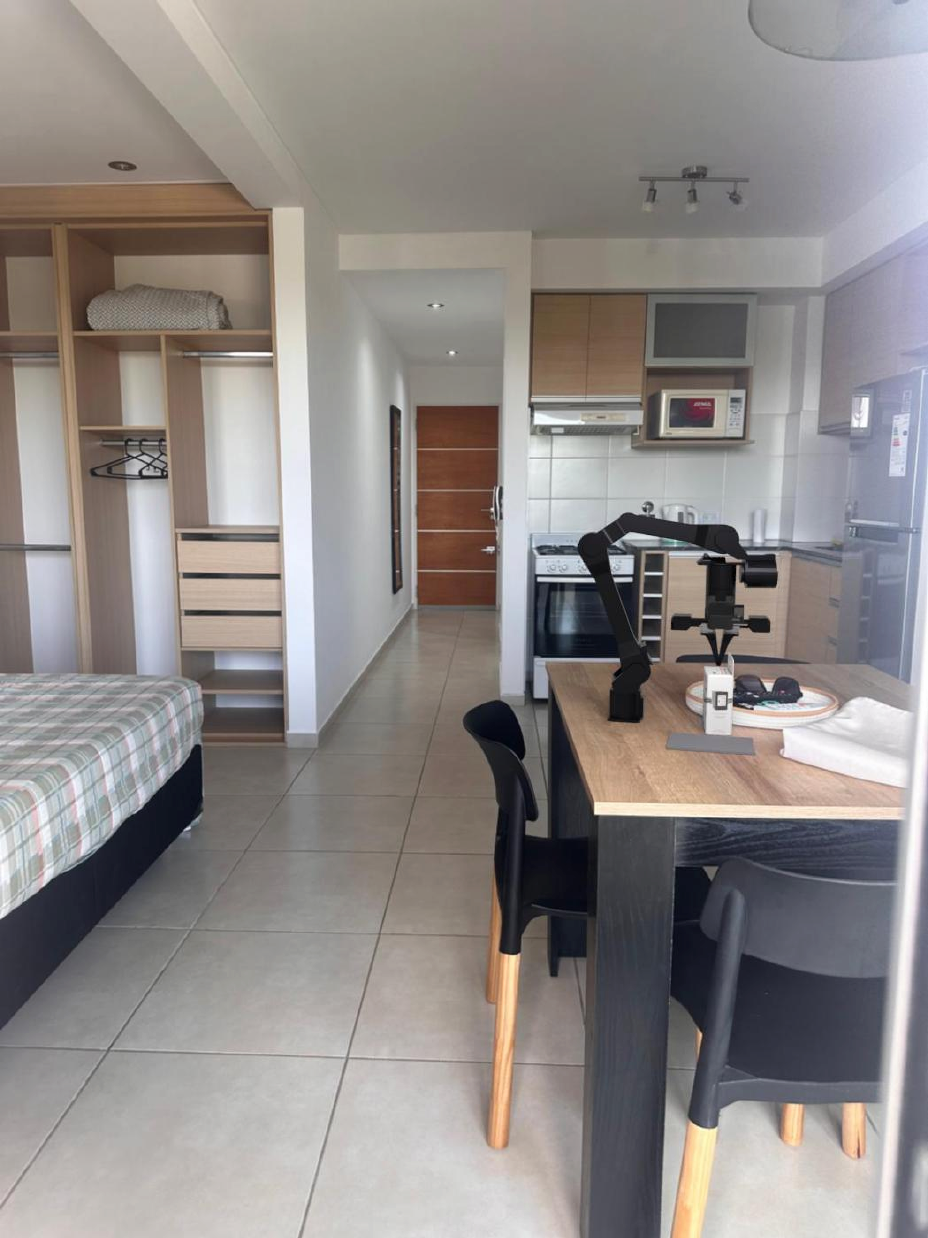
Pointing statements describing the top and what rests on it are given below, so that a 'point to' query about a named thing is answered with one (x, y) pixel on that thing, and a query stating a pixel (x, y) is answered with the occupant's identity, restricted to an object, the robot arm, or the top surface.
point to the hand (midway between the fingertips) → (718, 665)
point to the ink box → (718, 699)
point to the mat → (711, 743)
